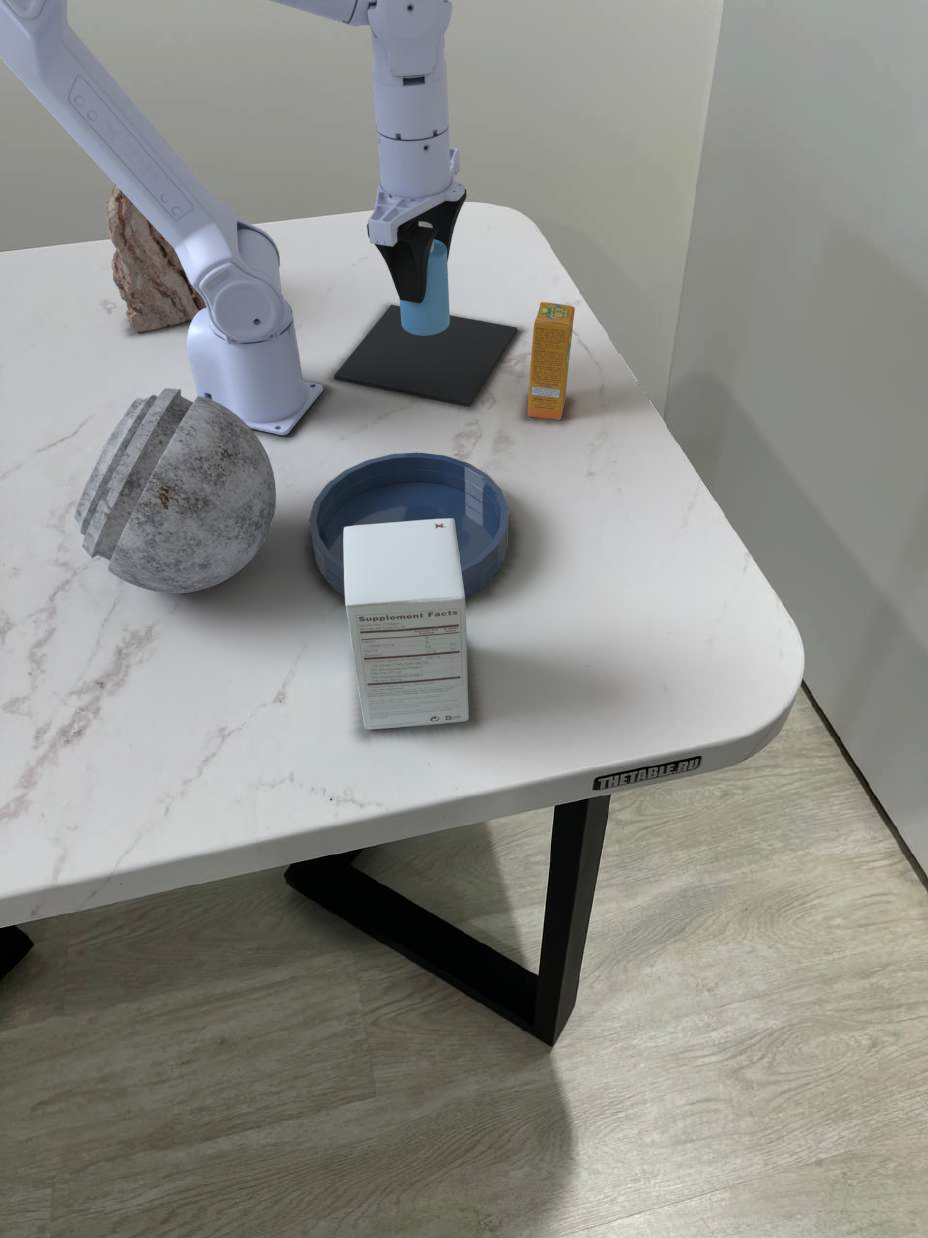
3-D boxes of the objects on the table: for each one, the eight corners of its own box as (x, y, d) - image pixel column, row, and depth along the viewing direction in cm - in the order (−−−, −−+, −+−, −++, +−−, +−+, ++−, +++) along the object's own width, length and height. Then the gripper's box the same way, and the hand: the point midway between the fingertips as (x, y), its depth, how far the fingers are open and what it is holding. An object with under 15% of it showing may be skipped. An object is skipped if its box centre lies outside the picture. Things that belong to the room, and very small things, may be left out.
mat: (334, 379, 98) (333, 375, 98) (391, 307, 107) (391, 304, 107) (469, 406, 95) (469, 403, 94) (517, 330, 103) (517, 327, 103)
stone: (94, 202, 93) (204, 191, 95) (87, 163, 97) (192, 153, 100) (125, 337, 104) (223, 324, 107) (117, 296, 109) (211, 285, 111)
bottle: (393, 330, 91) (385, 235, 85) (412, 306, 94) (406, 212, 87) (439, 339, 90) (433, 242, 83) (457, 314, 93) (453, 219, 86)
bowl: (280, 583, 79) (274, 555, 77) (363, 464, 89) (360, 436, 87) (467, 633, 75) (466, 605, 73) (533, 502, 85) (534, 474, 83)
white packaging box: (360, 652, 74) (341, 521, 65) (461, 644, 74) (457, 513, 65) (361, 733, 69) (342, 605, 60) (470, 725, 69) (467, 596, 60)
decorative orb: (145, 497, 86) (96, 342, 75) (310, 513, 85) (283, 356, 74) (72, 623, 76) (3, 465, 65) (257, 644, 75) (217, 485, 64)
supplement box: (563, 421, 93) (570, 323, 85) (526, 417, 93) (529, 320, 86) (568, 400, 95) (575, 303, 88) (532, 397, 95) (535, 300, 88)
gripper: (423, 170, 74) (433, 336, 84) (492, 97, 83) (493, 254, 93) (336, 158, 76) (356, 321, 86) (412, 88, 85) (422, 243, 95)
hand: (422, 286), depth 89 cm, fingers closed on bottle, 4 cm apart
